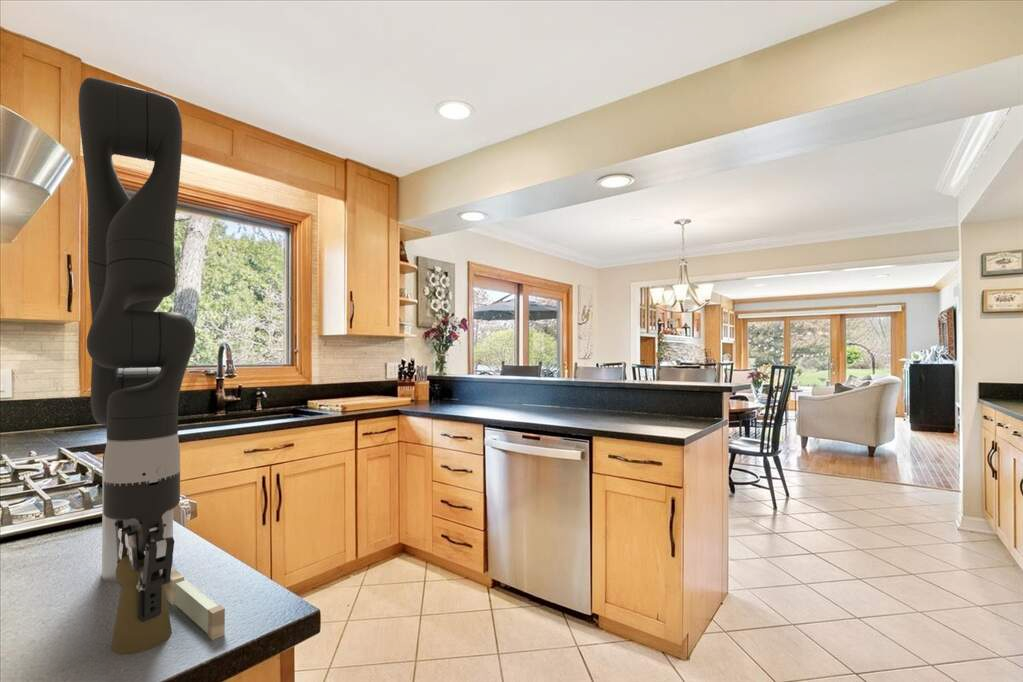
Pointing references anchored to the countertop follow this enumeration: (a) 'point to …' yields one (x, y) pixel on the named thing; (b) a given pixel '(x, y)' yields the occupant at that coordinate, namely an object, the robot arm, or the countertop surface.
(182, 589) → the gate door
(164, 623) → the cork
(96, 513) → the countertop surface
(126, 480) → the robot arm
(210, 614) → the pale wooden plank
